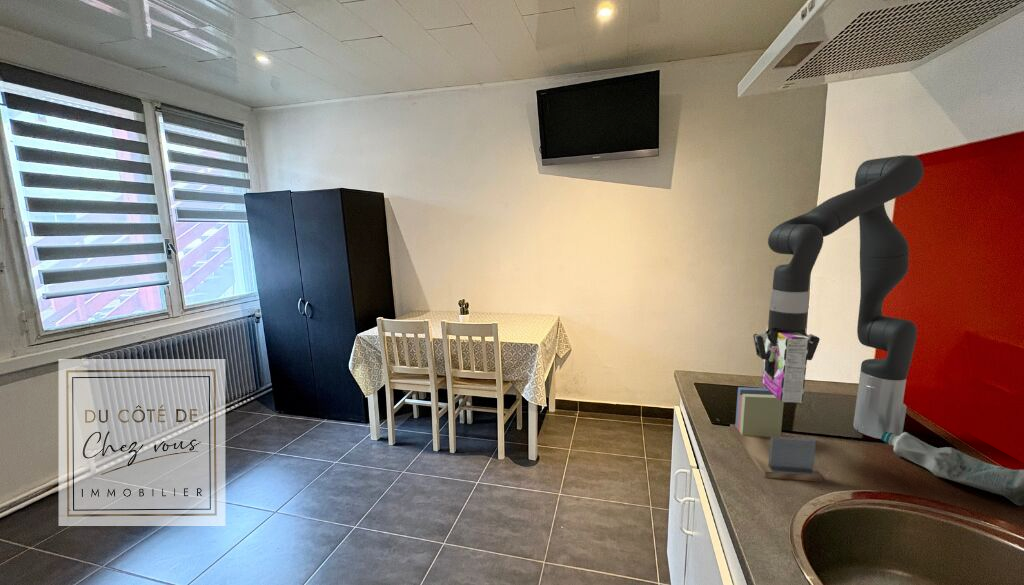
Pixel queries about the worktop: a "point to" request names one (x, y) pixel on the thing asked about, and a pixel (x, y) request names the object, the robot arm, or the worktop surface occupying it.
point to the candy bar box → (788, 367)
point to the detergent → (959, 466)
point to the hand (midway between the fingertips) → (782, 374)
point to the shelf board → (767, 456)
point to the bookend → (792, 455)
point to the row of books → (758, 412)
